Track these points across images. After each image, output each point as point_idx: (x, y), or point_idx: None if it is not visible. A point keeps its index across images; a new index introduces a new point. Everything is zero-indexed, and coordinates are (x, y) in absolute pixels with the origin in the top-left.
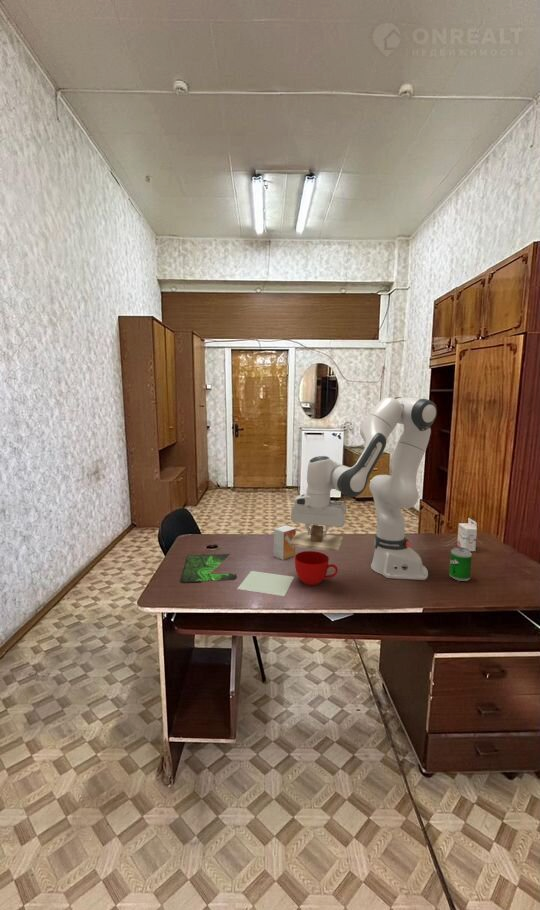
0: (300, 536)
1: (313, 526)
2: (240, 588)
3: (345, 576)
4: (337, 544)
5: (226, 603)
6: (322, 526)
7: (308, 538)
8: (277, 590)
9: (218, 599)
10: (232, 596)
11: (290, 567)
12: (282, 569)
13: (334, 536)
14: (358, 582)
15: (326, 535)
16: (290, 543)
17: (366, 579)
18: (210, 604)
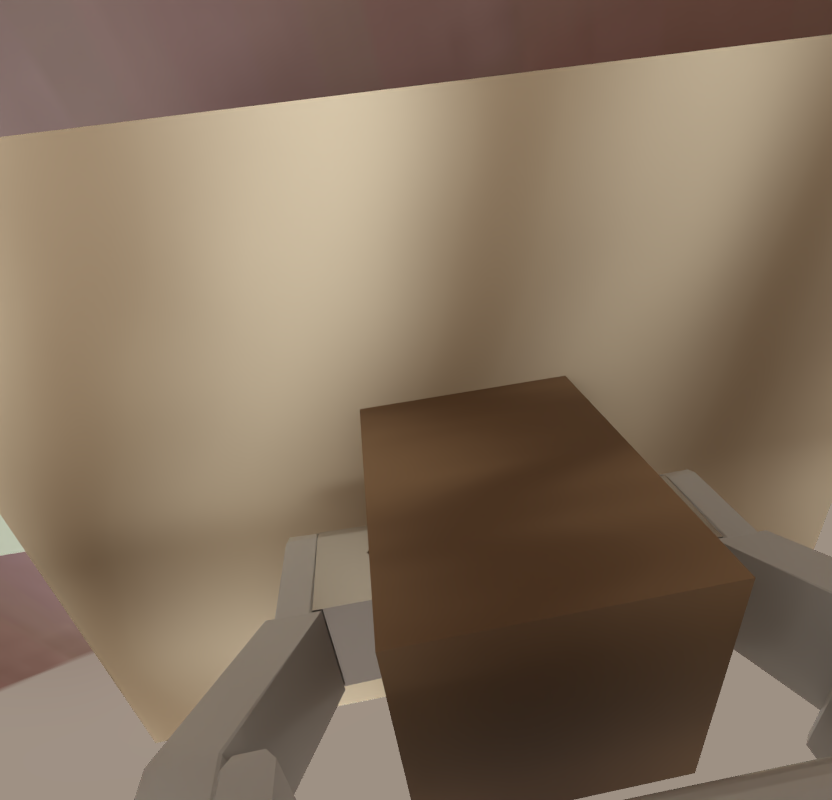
0: (121, 473)
1: (443, 742)
2: (9, 545)
3: (607, 22)
4: (799, 495)
5: (72, 650)
6: (722, 620)
7: (312, 489)
8: None
9: (7, 644)
10: (41, 602)
11: (49, 35)
12: (15, 127)
13: (816, 103)
14: None
15: (627, 124)
16: (171, 735)
17: (784, 7)
18: (17, 680)
